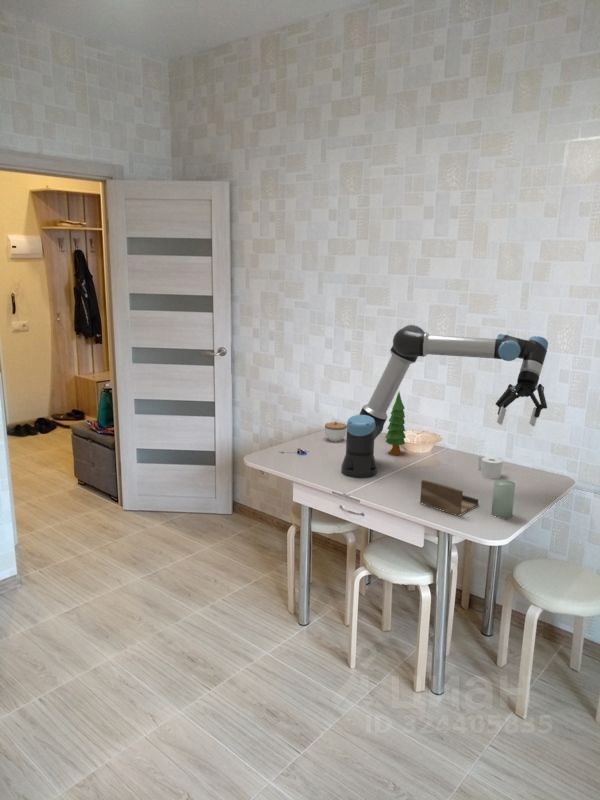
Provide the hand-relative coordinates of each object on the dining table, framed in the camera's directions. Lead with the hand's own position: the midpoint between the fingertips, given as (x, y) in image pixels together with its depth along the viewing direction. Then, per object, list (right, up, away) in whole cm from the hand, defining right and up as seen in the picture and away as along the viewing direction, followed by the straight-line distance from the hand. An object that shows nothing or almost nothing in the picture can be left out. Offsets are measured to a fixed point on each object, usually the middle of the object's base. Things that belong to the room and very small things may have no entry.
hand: (515, 424), depth 231 cm
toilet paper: (-1, -23, +29) cm, 37 cm away
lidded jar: (-64, -11, +75) cm, 99 cm away
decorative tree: (-37, -16, +56) cm, 69 cm away
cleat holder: (-27, -30, -6) cm, 40 cm away
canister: (-10, -32, -14) cm, 36 cm away
